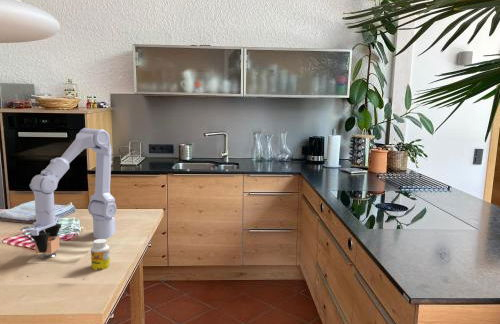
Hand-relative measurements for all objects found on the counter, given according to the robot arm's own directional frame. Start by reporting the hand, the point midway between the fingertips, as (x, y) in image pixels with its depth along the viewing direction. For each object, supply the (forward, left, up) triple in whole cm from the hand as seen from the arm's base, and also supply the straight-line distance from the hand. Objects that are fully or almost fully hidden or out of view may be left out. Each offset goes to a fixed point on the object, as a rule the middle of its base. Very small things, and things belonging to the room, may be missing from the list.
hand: (47, 248), depth 133 cm
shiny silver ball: (0, 0, -4) cm, 4 cm away
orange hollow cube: (0, 0, -1) cm, 1 cm away
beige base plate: (-4, +4, -4) cm, 7 cm away
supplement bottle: (+7, +21, -4) cm, 23 cm away
